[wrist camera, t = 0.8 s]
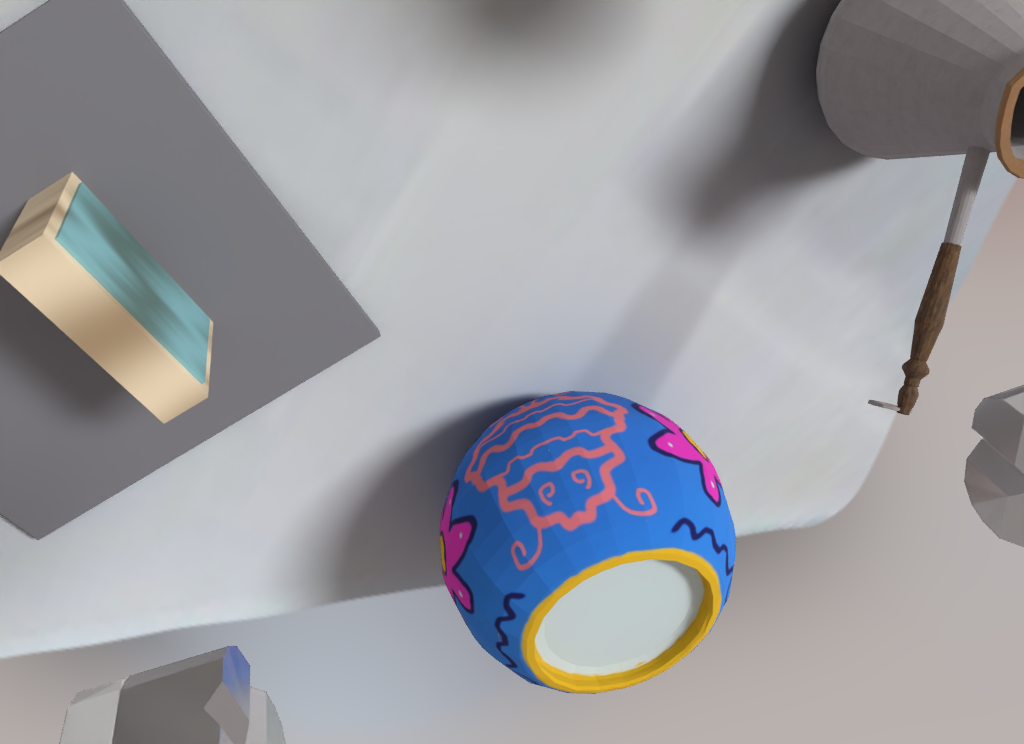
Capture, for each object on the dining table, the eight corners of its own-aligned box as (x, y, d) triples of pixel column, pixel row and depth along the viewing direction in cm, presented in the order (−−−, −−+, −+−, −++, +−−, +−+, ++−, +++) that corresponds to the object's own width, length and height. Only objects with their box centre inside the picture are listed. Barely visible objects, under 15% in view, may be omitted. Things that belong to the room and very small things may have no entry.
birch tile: (28, 199, 39) (-9, 266, 34) (75, 169, 39) (46, 232, 34) (174, 345, 45) (164, 423, 40) (216, 320, 45) (211, 395, 40)
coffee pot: (866, -113, 42) (1113, -75, 30) (1022, -33, 46) (1291, 29, 34) (679, 265, 52) (808, 409, 40) (822, 302, 56) (978, 441, 44)
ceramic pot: (473, 581, 63) (526, 768, 51) (376, 412, 52) (414, 599, 40) (689, 488, 63) (792, 652, 51) (636, 300, 52) (751, 453, 40)
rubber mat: (-345, 259, 38) (-353, 265, 37) (98, -33, 36) (96, -30, 35) (40, 533, 51) (38, 540, 50) (379, 330, 49) (380, 336, 48)
